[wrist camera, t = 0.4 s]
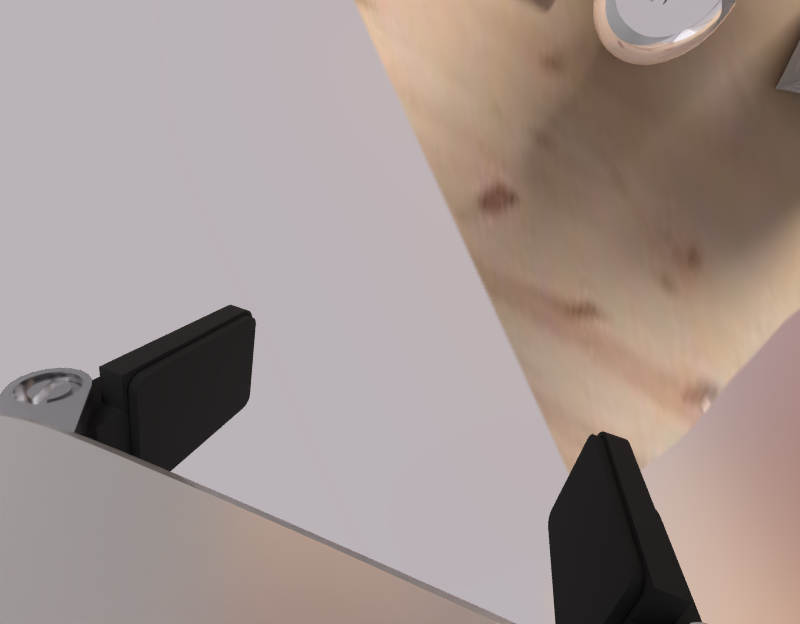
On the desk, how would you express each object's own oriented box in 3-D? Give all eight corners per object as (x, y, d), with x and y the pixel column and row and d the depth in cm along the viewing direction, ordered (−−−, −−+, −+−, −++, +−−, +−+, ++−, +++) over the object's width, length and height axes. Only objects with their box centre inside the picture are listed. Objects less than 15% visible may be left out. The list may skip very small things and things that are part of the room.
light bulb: (557, 71, 31) (577, 19, 20) (607, -38, 28) (662, -167, 17) (645, 103, 30) (715, 67, 19) (706, -5, 27) (828, -119, 16)
